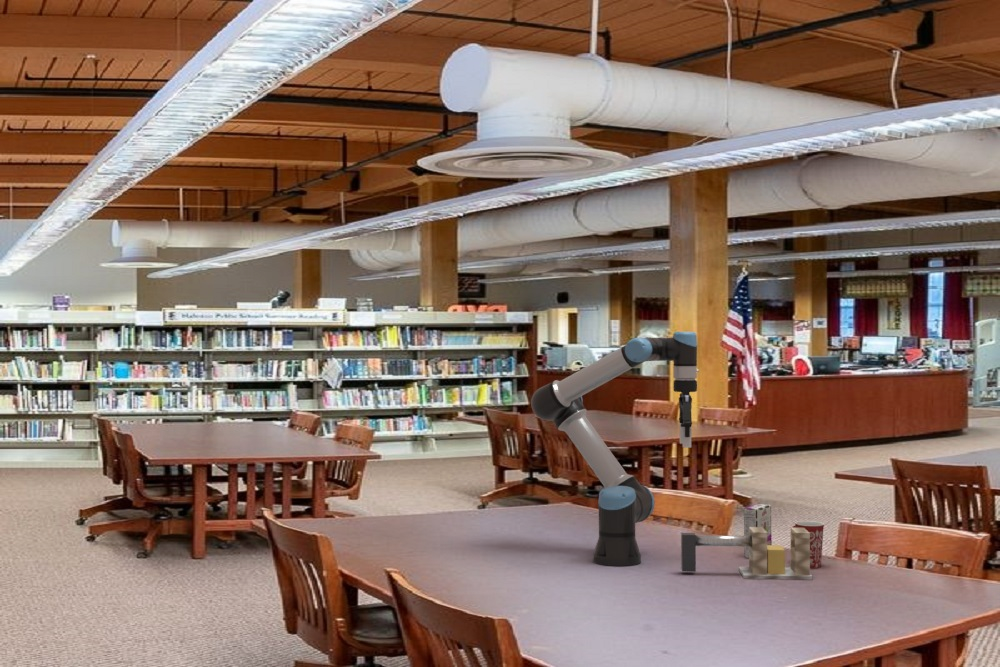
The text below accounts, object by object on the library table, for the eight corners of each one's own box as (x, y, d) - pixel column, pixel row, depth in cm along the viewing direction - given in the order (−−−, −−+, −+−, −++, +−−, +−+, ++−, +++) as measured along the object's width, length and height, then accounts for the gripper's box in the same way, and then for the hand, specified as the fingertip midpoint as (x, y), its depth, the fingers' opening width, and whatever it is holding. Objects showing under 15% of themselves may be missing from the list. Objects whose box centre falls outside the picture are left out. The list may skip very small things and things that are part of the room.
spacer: (767, 573, 355) (767, 549, 355) (764, 568, 362) (764, 545, 362) (784, 574, 354) (784, 549, 354) (780, 569, 362) (780, 545, 362)
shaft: (682, 571, 358) (682, 534, 358) (681, 568, 362) (681, 532, 362) (762, 572, 357) (762, 535, 357) (761, 569, 361) (761, 533, 361)
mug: (830, 567, 369) (830, 524, 369) (806, 569, 366) (806, 526, 366) (805, 560, 381) (805, 518, 381) (781, 562, 377) (781, 520, 377)
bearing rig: (743, 578, 353) (743, 533, 353) (738, 570, 365) (738, 526, 366) (812, 579, 351) (812, 533, 351) (804, 570, 364) (804, 526, 364)
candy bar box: (758, 552, 394) (758, 503, 394) (772, 554, 391) (772, 504, 391) (743, 558, 385) (743, 507, 385) (757, 559, 382) (757, 508, 382)
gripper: (700, 381, 369) (700, 449, 369) (693, 378, 394) (693, 442, 394) (676, 380, 370) (676, 449, 370) (671, 378, 395) (671, 441, 395)
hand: (685, 445), depth 382 cm, fingers open, 13 cm apart
